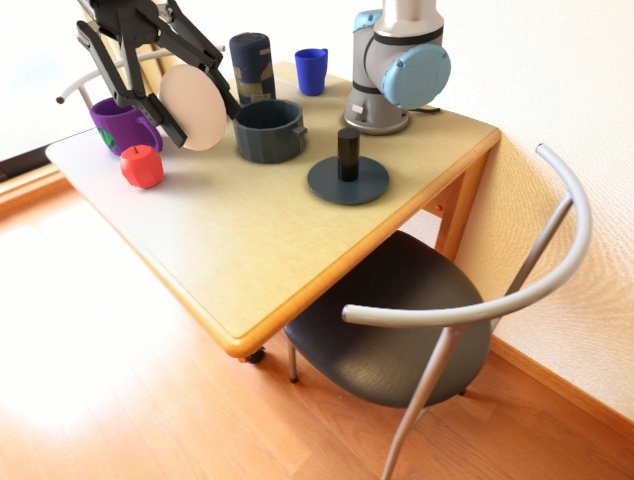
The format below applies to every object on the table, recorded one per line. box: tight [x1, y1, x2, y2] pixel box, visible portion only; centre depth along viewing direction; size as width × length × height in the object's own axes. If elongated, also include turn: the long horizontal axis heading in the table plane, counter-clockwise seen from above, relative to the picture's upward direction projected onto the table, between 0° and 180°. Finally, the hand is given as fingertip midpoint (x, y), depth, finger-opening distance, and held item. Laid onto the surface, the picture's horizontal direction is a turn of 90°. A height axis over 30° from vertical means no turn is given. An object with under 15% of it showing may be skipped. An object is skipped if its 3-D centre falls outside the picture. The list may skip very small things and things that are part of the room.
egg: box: [157, 63, 228, 152], centre depth 50 cm, size 9×9×11 cm
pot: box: [231, 98, 308, 165], centre depth 79 cm, size 15×20×8 cm
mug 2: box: [294, 47, 329, 96], centre depth 100 cm, size 8×12×10 cm
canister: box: [228, 31, 277, 105], centre depth 89 cm, size 10×10×18 cm
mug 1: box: [89, 96, 164, 157], centre depth 79 cm, size 17×11×10 cm, turn 55°
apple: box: [119, 145, 165, 189], centre depth 71 cm, size 8×8×8 cm
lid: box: [306, 127, 390, 205], centre depth 67 cm, size 16×16×10 cm
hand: (211, 128), depth 49 cm, fingers closed on egg, 9 cm apart
